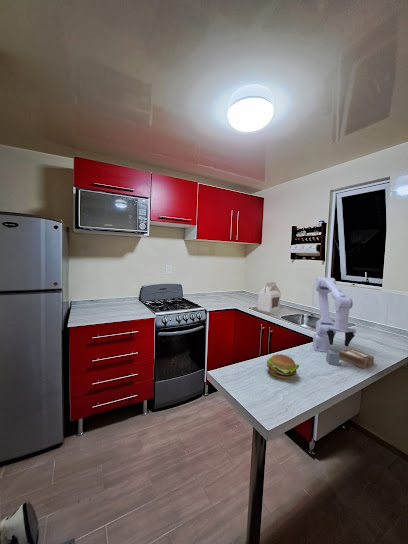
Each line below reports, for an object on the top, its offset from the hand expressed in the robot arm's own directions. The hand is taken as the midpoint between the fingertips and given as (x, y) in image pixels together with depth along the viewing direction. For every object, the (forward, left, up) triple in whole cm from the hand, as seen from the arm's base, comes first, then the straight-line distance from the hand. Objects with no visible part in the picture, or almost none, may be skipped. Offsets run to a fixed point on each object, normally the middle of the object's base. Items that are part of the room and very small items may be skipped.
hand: (338, 345), depth 119 cm
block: (-3, -2, -10) cm, 10 cm away
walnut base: (+11, +5, -10) cm, 16 cm away
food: (-31, -22, -10) cm, 39 cm away
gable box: (-27, +110, -10) cm, 113 cm away
